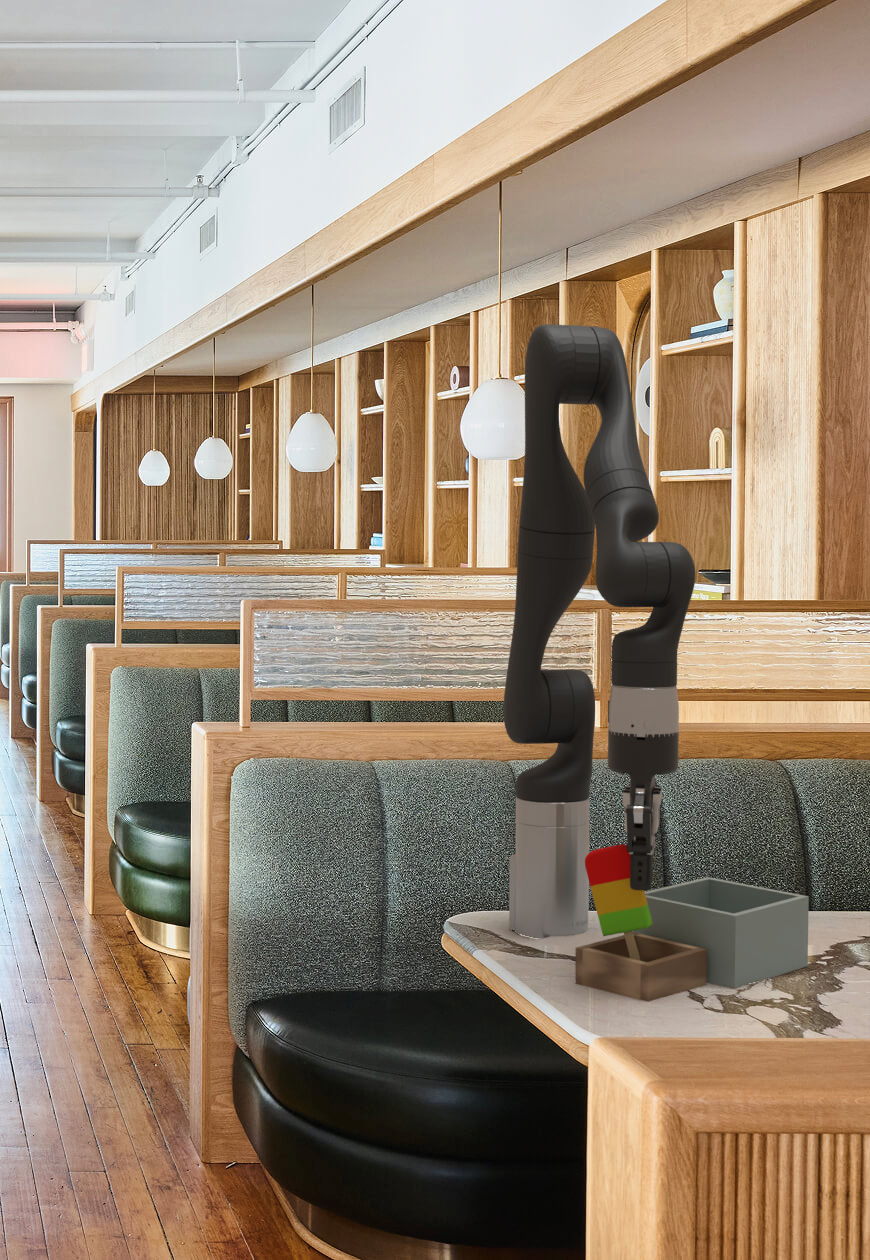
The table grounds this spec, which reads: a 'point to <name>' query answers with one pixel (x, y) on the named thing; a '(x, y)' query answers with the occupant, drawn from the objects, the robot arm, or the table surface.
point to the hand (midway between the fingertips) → (641, 885)
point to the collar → (641, 967)
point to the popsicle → (617, 895)
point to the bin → (733, 927)
